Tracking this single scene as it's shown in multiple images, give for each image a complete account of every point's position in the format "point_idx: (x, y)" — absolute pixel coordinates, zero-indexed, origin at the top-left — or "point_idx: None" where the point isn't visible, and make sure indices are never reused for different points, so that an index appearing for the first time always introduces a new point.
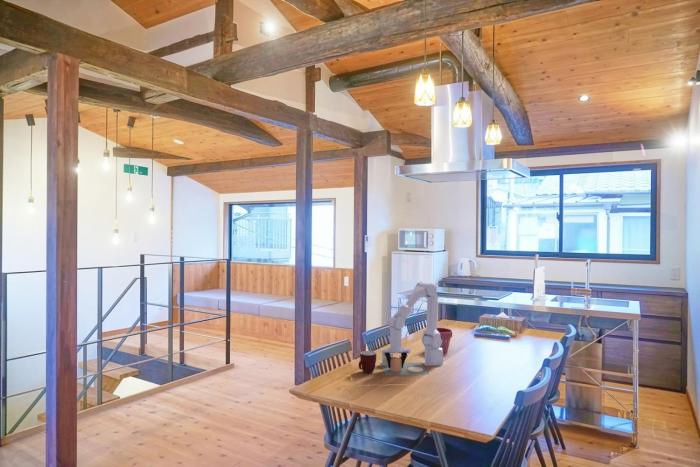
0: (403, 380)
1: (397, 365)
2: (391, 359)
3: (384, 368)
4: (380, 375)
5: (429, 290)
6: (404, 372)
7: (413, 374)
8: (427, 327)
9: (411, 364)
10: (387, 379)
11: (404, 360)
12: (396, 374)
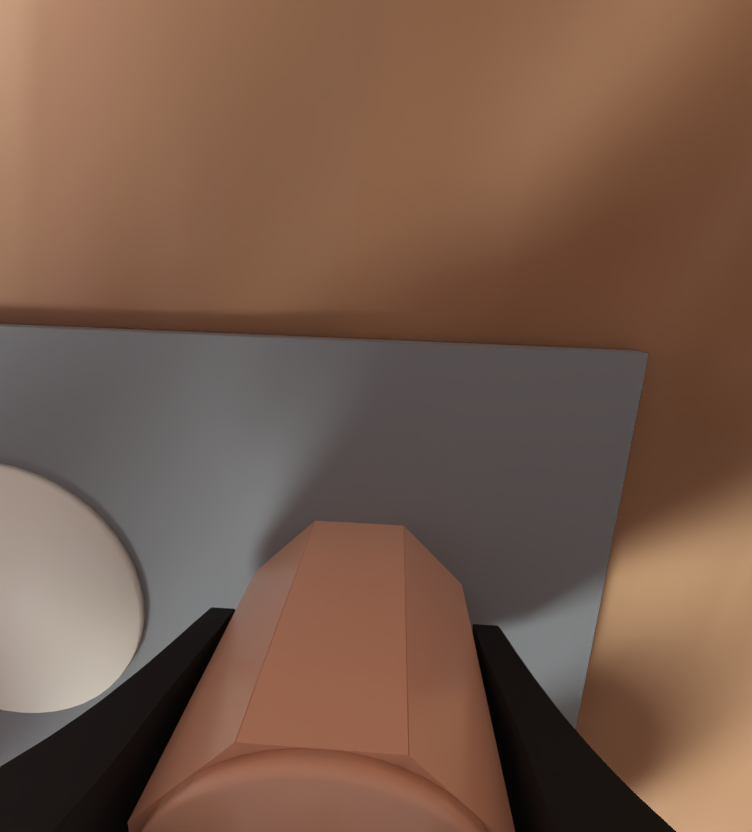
0: (305, 24)
1: (324, 600)
2: (491, 812)
3: None
4: (708, 408)
5: None
6: (214, 468)
7: (48, 334)
8: None
9: None
10: (648, 129)
11: (68, 730)
12: (395, 365)
